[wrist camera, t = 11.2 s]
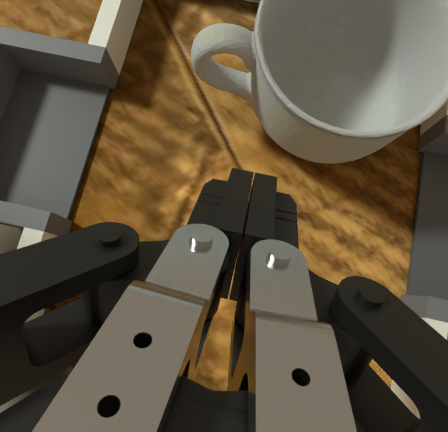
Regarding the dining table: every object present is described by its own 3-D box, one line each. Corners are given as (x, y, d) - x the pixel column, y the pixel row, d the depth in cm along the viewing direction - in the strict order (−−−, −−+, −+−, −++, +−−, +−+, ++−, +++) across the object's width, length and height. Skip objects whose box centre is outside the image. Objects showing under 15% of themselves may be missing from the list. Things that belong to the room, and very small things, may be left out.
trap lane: (524, 512, 20) (599, 568, 16) (-106, 355, 21) (-181, 371, 17) (542, 42, 26) (599, -2, 22) (53, -49, 28) (25, -104, 24)
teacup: (400, 58, 26) (479, -43, 18) (386, 196, 23) (467, 150, 16) (217, 26, 26) (214, -86, 18) (186, 158, 24) (167, 95, 16)
